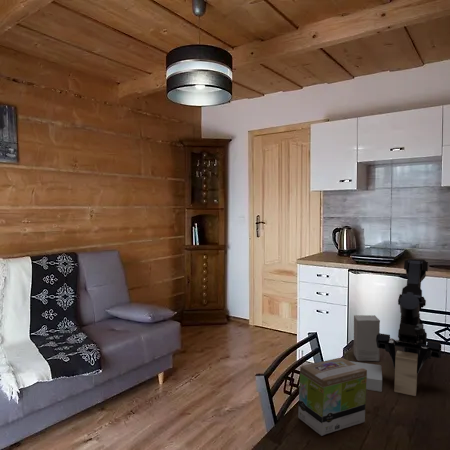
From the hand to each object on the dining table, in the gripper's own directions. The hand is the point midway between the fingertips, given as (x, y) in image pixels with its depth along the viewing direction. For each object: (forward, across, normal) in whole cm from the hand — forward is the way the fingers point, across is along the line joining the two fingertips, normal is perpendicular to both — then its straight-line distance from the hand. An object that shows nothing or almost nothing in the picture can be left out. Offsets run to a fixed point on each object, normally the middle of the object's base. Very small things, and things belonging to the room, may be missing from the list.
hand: (406, 370), depth 123 cm
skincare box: (-10, -15, +20) cm, 27 cm away
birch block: (+4, 0, +6) cm, 7 cm away
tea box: (+24, -16, -14) cm, 32 cm away
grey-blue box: (+4, -13, +6) cm, 15 cm away
